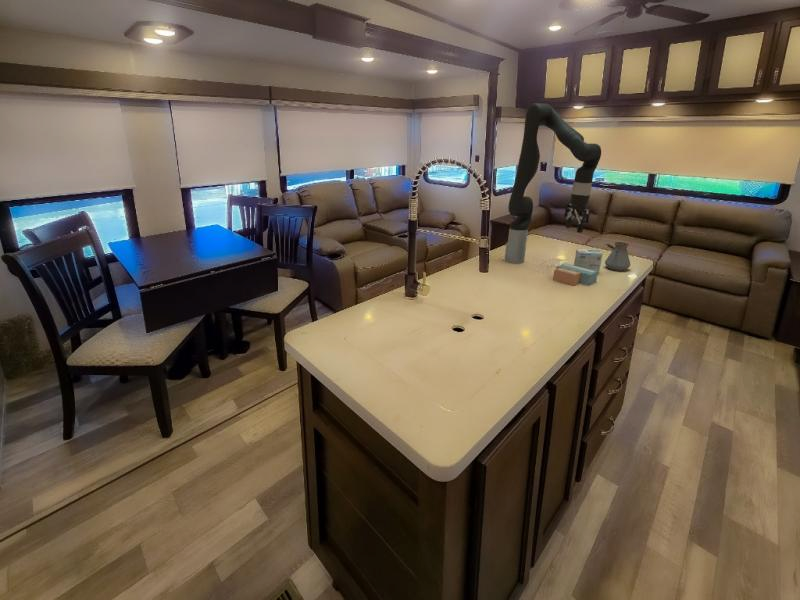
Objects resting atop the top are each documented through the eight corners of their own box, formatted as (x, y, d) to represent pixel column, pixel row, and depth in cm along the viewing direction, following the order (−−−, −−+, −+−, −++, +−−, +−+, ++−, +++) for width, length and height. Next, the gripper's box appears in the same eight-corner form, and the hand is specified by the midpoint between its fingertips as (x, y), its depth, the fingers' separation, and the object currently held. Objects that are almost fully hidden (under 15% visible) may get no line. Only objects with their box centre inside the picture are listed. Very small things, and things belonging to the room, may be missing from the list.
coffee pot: (610, 263, 214) (616, 235, 208) (633, 269, 205) (640, 240, 200) (588, 271, 202) (594, 241, 196) (612, 277, 193) (618, 246, 188)
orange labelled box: (552, 279, 189) (554, 269, 187) (558, 277, 192) (560, 267, 190) (573, 285, 182) (575, 274, 180) (578, 283, 185) (580, 272, 183)
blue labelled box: (554, 276, 194) (556, 266, 192) (563, 273, 199) (565, 263, 197) (587, 285, 183) (589, 274, 181) (596, 281, 188) (598, 271, 186)
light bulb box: (594, 270, 203) (598, 249, 199) (599, 274, 197) (603, 253, 193) (572, 269, 204) (575, 248, 200) (576, 274, 198) (580, 252, 194)
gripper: (563, 190, 183) (557, 226, 189) (583, 196, 170) (575, 234, 176) (578, 190, 184) (571, 226, 191) (599, 195, 171) (591, 233, 178)
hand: (573, 230), depth 183 cm, fingers open, 8 cm apart
